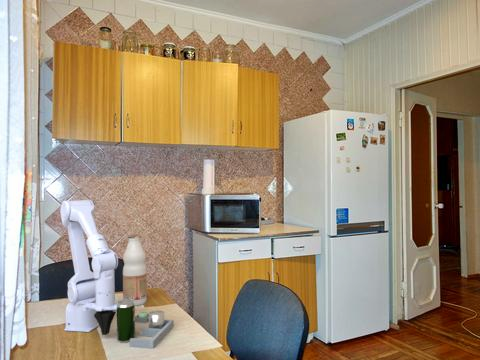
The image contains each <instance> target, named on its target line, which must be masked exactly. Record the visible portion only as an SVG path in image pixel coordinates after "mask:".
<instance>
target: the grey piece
mask: <svg viewBox="0 0 480 360" xmlns="http://www.w3.org/2000/svg"><path fill="white" fill-rule="evenodd" d="M173 327H174V319H164V327H163V328H162V329H154V328H149V327H142V328H141V330H140V331H141V337H152V338H131V339H130V342H129V348H143V349H154V348H155V347H156V346H157V345H158V344H159V343H160V342H161V340H163V338H165V336H167V334H168V333H169V332H170V331H171V330H172V329H173Z"/></svg>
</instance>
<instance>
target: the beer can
mask: <svg viewBox="0 0 480 360" xmlns="http://www.w3.org/2000/svg"><path fill="white" fill-rule="evenodd" d="M116 303H118V304H117V312H116V340H117V341H118V343H119V342H120V344H127V343H128V342H129V343H130V339H131V338H135V337H136V323H135V316H136V315H135V314H136V313H135V311H136V310H135V308H136V306H135V304H134V300H132V299H125V300H123V299H120V300H118V301H117V302H116Z"/></svg>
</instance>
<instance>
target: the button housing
mask: <svg viewBox="0 0 480 360" xmlns="http://www.w3.org/2000/svg"><path fill="white" fill-rule="evenodd" d="M149 313H150V312H147V317H146V318H139V313H138V314H137V315H135V322H137V324H138V323H139V324H149Z"/></svg>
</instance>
